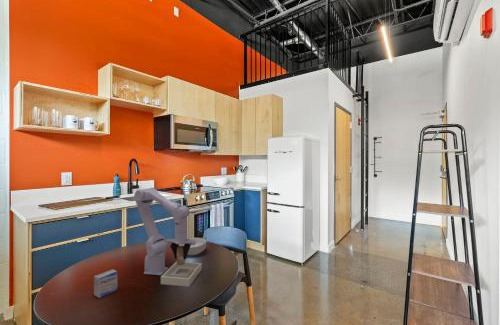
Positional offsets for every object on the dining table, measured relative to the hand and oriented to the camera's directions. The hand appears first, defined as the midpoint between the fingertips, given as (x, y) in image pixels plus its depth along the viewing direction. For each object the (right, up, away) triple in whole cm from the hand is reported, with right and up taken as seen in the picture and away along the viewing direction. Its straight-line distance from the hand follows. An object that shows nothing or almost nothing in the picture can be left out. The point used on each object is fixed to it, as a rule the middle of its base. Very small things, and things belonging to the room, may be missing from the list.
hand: (180, 258), depth 120 cm
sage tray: (0, -10, +2) cm, 10 cm away
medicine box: (-29, -10, -13) cm, 34 cm away
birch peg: (0, -2, 0) cm, 2 cm away
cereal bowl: (-2, -9, +32) cm, 33 cm away
